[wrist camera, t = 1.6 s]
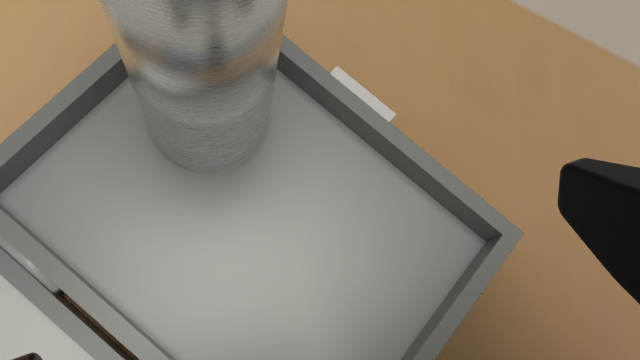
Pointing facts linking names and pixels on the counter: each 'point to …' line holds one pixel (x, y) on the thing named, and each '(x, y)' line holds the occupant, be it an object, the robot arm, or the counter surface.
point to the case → (251, 226)
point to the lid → (44, 317)
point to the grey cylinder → (201, 74)
